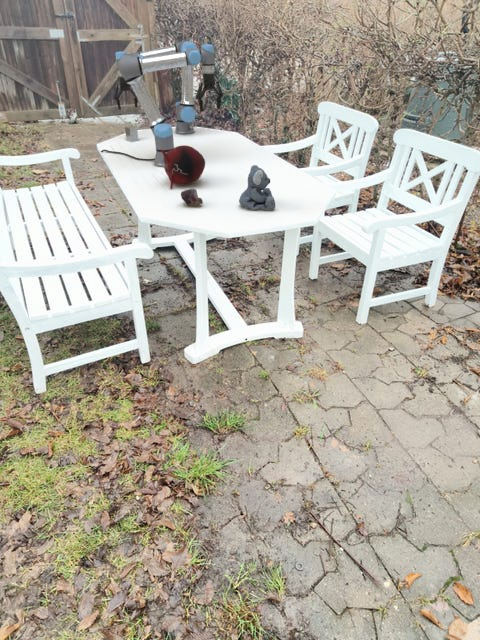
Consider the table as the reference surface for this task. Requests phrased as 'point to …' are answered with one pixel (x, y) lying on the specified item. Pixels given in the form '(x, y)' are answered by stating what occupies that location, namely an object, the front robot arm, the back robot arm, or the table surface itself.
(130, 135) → the block
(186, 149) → the red pot
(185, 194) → the rock
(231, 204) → the table surface
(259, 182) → the koala plush
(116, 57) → the back robot arm
